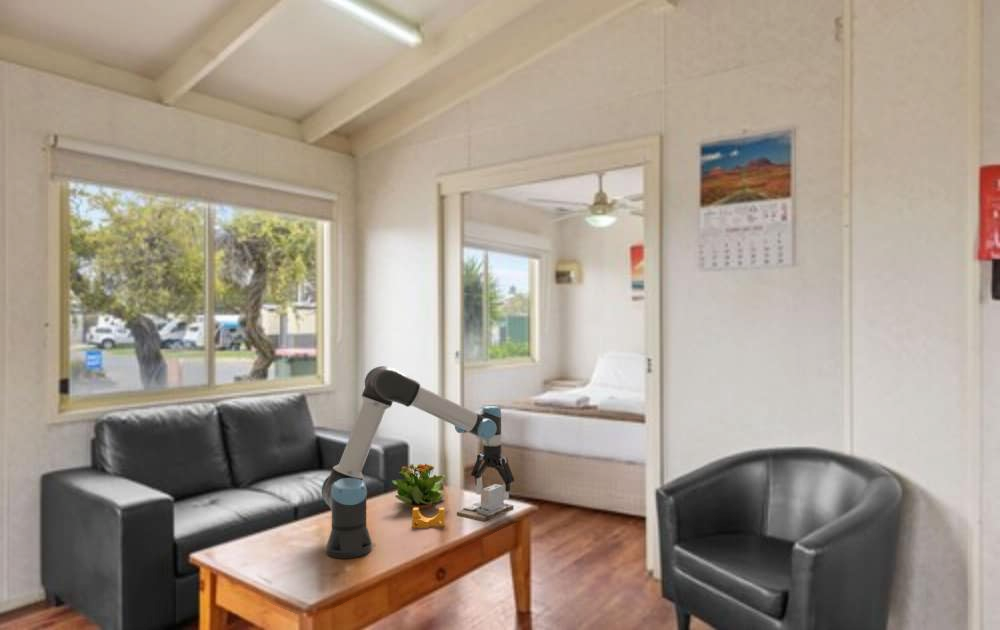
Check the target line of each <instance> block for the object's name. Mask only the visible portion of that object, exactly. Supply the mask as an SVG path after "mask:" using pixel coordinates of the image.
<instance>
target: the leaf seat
mask: <svg viewBox="0 0 1000 630" xmlns="http://www.w3.org/2000/svg"><path fill="white" fill-rule="evenodd" d="M508 504H509V503H507V502H504V507H503V508H501V509H499V510H496V511H494V512H492V513H490V512H489V511H485V510H481V509H477V513H480V514H484V515H488V516H489V515H491V514H494V513H496V512H498V511H501V510H503V509H505V508H507V507H508Z"/></svg>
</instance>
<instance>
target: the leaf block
mask: <svg viewBox="0 0 1000 630" xmlns="http://www.w3.org/2000/svg"><path fill="white" fill-rule="evenodd" d="M480 501H481V510H485V511H489V512H490V513H492V512H494V511H496V510H499V509H501V508H503V507H504V503H505V502H504V501H505V500H503V484H498V483H495V484H492V485H490V486H487V487H484V488H482V489H481V494H480Z"/></svg>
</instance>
